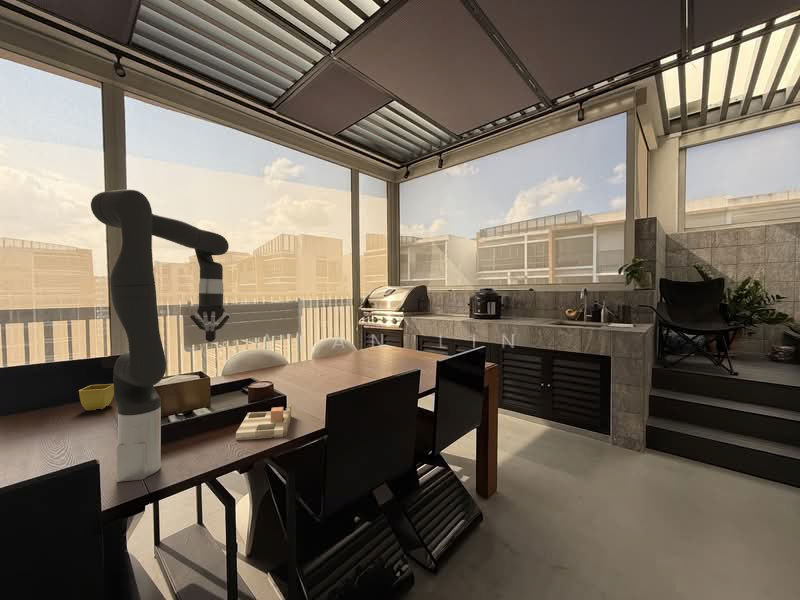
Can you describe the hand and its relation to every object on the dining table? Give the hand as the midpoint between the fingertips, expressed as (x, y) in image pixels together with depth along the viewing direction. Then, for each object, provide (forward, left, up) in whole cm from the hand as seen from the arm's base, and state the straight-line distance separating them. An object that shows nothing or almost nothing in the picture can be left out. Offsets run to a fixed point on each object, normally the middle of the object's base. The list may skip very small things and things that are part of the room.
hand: (210, 341), depth 117 cm
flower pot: (+33, +52, -32) cm, 69 cm away
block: (0, -22, -30) cm, 37 cm away
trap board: (+1, -19, -32) cm, 37 cm away
